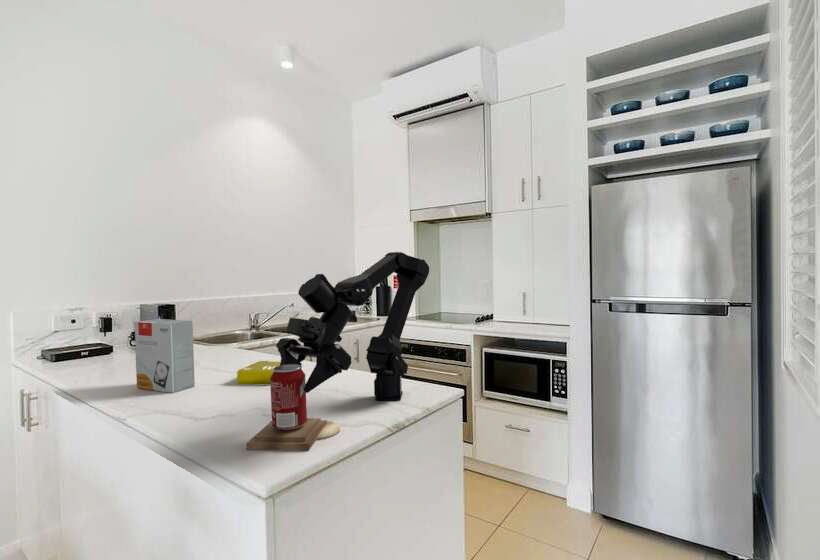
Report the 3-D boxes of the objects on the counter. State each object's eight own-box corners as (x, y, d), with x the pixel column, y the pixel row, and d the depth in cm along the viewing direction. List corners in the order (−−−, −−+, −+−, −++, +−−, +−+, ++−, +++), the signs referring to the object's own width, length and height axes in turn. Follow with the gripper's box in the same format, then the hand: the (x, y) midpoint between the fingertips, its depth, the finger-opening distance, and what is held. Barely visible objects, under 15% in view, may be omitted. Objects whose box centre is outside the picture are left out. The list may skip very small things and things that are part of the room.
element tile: (302, 373, 137) (301, 359, 137) (281, 386, 122) (281, 370, 122) (259, 373, 139) (259, 359, 139) (234, 385, 124) (234, 369, 124)
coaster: (344, 423, 90) (344, 420, 90) (333, 440, 81) (333, 437, 81) (304, 423, 91) (303, 420, 91) (289, 440, 82) (288, 437, 82)
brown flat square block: (326, 425, 89) (326, 416, 89) (309, 450, 77) (308, 439, 77) (272, 425, 90) (272, 416, 90) (246, 449, 78) (246, 439, 78)
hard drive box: (135, 389, 122) (132, 321, 122) (159, 382, 129) (157, 318, 129) (173, 393, 116) (170, 323, 116) (196, 386, 124) (193, 319, 123)
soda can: (297, 434, 79) (295, 371, 79) (265, 432, 81) (263, 371, 80) (312, 421, 86) (310, 363, 86) (282, 419, 87) (280, 363, 87)
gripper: (281, 301, 93) (237, 360, 84) (338, 304, 82) (294, 372, 73) (310, 331, 99) (272, 389, 91) (367, 337, 88) (330, 403, 80)
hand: (290, 388), depth 84 cm, fingers open, 9 cm apart
